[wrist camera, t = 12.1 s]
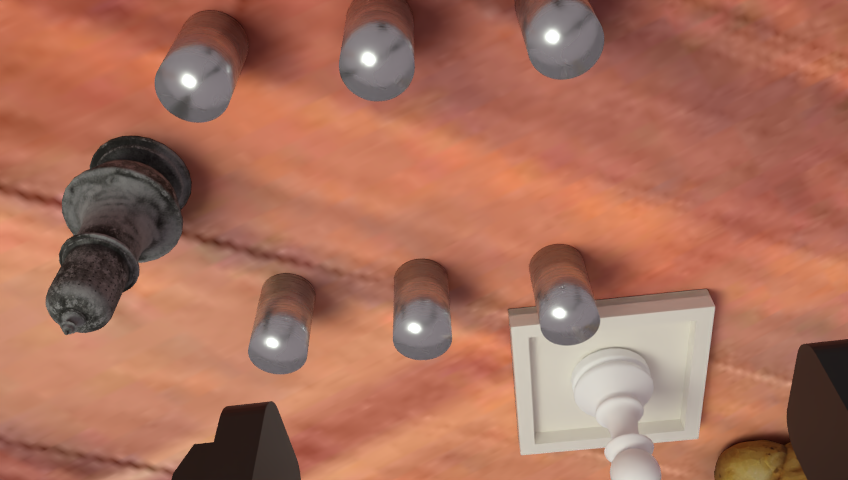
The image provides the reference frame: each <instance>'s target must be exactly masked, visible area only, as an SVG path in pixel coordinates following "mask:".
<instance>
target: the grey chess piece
mask: <svg viewBox="0 0 848 480" xmlns="http://www.w3.org/2000/svg"><path fill="white" fill-rule="evenodd" d="M190 194H191V179H190V174H189V171H188V169H187V168H186V166H185V164H184V162H183V161H182V160H181V159H180V158H179V156H178V155H177V154H176V153H175V152H174V151H172V150H171V149H169V148H168V147H166V146H165V145H164V144H162V143H159V142H157V141H155V140H152V139H150V138H145V137H139V136H122V137H118V138H115V139H111V140H109V141H108V142H106V143H105V144H103V145H102V146H100V148H99V149H98V150H97V151H96V153H95V154H94V155H93V158H92V161H91V164H90V170H86V171H84V172H83V173H81V174H80V175H78V176H76V177H75V178H74V179H73V180H72V181H71V182H70V184H69V185H68V186H67V187H66V189H65V192H64V195H63V198H62V213H63V216H64V219H65V221H66V224H67V226H68V228H69V229H70V230H71V232H72V233H73V235H74V236H72V237H71V238H69V239H67V240H66V242H65V243H64V244H63V245H62V247H61V250H60V253H59V261H60V264H61V267H60V269H59V271H58V273H57V275H56V277H55V278H54V280H53V282H52V284H51V286H50V288H49V289H48V292H47V295H46V307H47V310H48V312H49V314H50V316H51V317H52V318H53V320H54V321H55V322H56V323H58V324H59V325H60V327H61V329H62V331H63V332H64V334H65V335H68V334H71V333H75V332H79V333H88V332H92V331H96V330H99V329H100V328H102V327H104V326H105V325H106V324H107V323H108V322H109V320H110V319H111V318H112V315H113V313H114V311H115V308H116V306H117V304H118V301H119V299H120V297H121V295H122V292H125V291H126V290H128V289H130V288H131V287H132V286H133V285H134V284H135V283H136V281H137V279H138V276H139V264H138V263H142V262H148V261H152V260H155V259H158V258H160V257H162V256H164V255H165V254H167V253H169V252H170V251H171V250H172V249H173V248H174V247H175V245H176V244H177V243H178V240H179V238H180V236H181V234H182V226H183V219H182V215H181V211H180V210H181V209H182V208H183V207H184V206H185V204H186V203H187V201H188V198H189V196H190Z"/></svg>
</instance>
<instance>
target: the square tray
mask: <svg viewBox="0 0 848 480" xmlns="http://www.w3.org/2000/svg"><path fill="white" fill-rule="evenodd" d="M595 302H596V306H597V309H598V313H599V316H600V326H599V328H598V330H597V332H596V333H595V334H594V335H593V336H592V337H591V338H590V339H588V340H586V341H584V342H582V343H580V344H576V345H569V346H564V345H558V344H554V343H552V342H550V341H549V340H547V339H546V338H545V337H544V336H543V334H542V332H541V328H540V323H539V318H538V313H537V308H536V306H535V307H525V308H516V309H508V313H509V326H510V339H511V352H512V365H513V377H514V390H515V403H516V416H517V429H518V440H519V447H520V454H521V455H529V454H540V453H550V452H561V451H572V450H583V449H594V448H604V447H606V445H607V444H608V443H609V442H610V441H611V440H612V437H611V435H610V432H609V430H608V429H607V428H605V427H603V426H601V425H600V424H599V423H598V422H597V420H596V417H593V416H591V415H588V414H586V413H585V412H583V411H582V410H581V409H580V408H579V407H578V405H577V404H576V403H575V399H574V393H573V389H572V385H571V375H572V372H573V370H574V368H575V366H576V365H577V364H578V363H579V362H580V361H581V360H582V359H583V358H585V357H586V356H588V355H589V354H592V353H594V352H597V351H599V350H604V349H609V348H621V349H626V350H630V351H632V352H635V353H637V354H638V355H640V356H641V357H642V358H643V359H644V360H645V361H646V363H647V365H648V367H649V370H650V375H651V378H652V379H653V384H654V390H653V394H652V397H651V398H650V400H649V401H648V403H647V404H646V405H645V406H643V409H644V413H643V416H642V418H641V419H640V421H638V431H639V434H642V435H645V436H647V437H648V438H650V439H651V440H652V442H653V443H659V442H669V441H680V440H691V439H698V437H699V429H700V421H701V413H702V406H703V398H704V390H705V382H706V374H707V366H708V359H709V351H710V343H711V335H712V327H713V320H714V312H715V305H714V303H713V301H712V299H711V296H710V294H709V292H708V290H707V289H700V290H691V291H681V292H671V293H661V294H652V295H642V296H632V297H623V298H613V299H603V300H595Z"/></svg>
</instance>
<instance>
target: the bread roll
mask: <svg viewBox="0 0 848 480" xmlns="http://www.w3.org/2000/svg"><path fill="white" fill-rule="evenodd" d="M714 477H715V480H807V478H806V476H805V474H804V472H803V470H802V467H801V465H800V463H799V461H798V459H797V457H796V455H795V452H794V450H793V447H792V444H791V443H787V444H786V445H785V446H784V445H782V444H779V443H775V442H772V441H768V440H758V441H749V442H742V443H738V444H735V445H733V446H731V447H730V448H728V449H726V450H725V451H724V452H723V453H721V455H720V456H719V458H718V461H717V463H716V466H715V471H714Z"/></svg>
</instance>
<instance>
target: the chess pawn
mask: <svg viewBox="0 0 848 480" xmlns="http://www.w3.org/2000/svg"><path fill="white" fill-rule="evenodd" d="M571 385H572V389H573V393H574V399H575V403H576V404H577V405H578V407H579V408H580V409H581V410H582V411H583V412H585V413H586V414H588V415H591V416H593V417H596V420H597V422H598V423H599V424H600V425H601V426H603V427H605V428H607V429H608V430H609V432H610V435H611V437H612V440H611V441H610V442H609V443H608V444H607V445H606V447H605V451H604V453H605V456H606V458H607V459H608V460H609V461H610V462H611V463H612V464H611V468H610V476H611V480H661V470H660V466H659V464H658V462H657V461H656V459H655V458H654V457H653V456H652V455H651V454H652V453H653V449H654V445H653V442H652V440H651V439H650V438H648V437H647V436H645V435H642V434H639V431H638V421H640V419H641V418H642V416H643V413H644V409H643V406H645V405H646V404H647V403H648V401H649V400H650V398H651V397H652V394H653V390H654V384H653V379H652V378H651V375H650V370H649V367H648V365H647V363H646V361H645V360H644V359H643V358H642V357H641V356H640V355H638V354H637V353H635V352H632V351H630V350H626V349H621V348H609V349H604V350H599V351H597V352H594V353H592V354H589V355H588V356H586V357H585V358H583V359H582V360H581V361H580V362H579V363H578V364H577V365H576V366H575V368H574V370H573V372H572V375H571Z"/></svg>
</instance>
